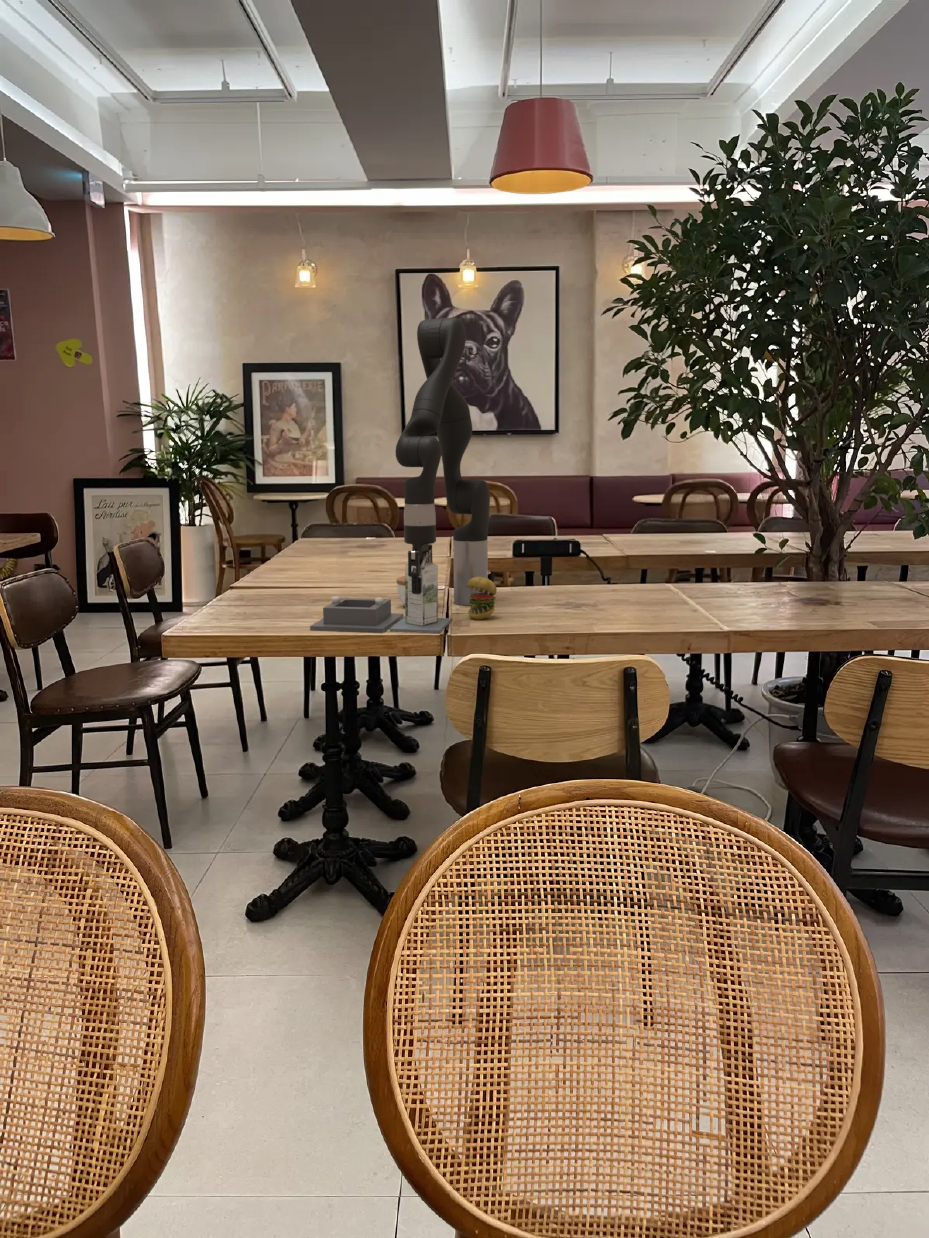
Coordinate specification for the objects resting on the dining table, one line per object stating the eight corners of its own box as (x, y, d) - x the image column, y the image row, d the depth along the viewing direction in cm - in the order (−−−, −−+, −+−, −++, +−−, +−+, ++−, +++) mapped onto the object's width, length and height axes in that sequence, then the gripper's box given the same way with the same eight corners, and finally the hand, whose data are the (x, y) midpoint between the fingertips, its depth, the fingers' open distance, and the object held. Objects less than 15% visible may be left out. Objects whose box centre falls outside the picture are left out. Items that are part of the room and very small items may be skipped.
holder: (335, 615, 231) (334, 590, 230) (403, 617, 227) (403, 592, 226) (310, 630, 214) (308, 603, 212) (383, 632, 210) (382, 605, 209)
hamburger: (460, 618, 226) (460, 570, 224) (481, 613, 231) (480, 567, 229) (482, 622, 221) (482, 574, 218) (503, 618, 226) (503, 570, 223)
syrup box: (420, 619, 222) (419, 561, 219) (439, 622, 218) (438, 563, 215) (405, 623, 217) (403, 564, 214) (423, 626, 214) (422, 566, 211)
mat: (405, 619, 225) (405, 616, 225) (452, 620, 223) (452, 618, 223) (389, 631, 212) (389, 628, 212) (439, 633, 210) (439, 630, 209)
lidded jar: (389, 608, 239) (388, 573, 237) (410, 602, 248) (409, 568, 246) (424, 612, 234) (423, 576, 232) (444, 605, 243) (444, 570, 241)
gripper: (428, 526, 205) (429, 596, 208) (442, 520, 218) (443, 586, 222) (396, 525, 206) (398, 595, 210) (412, 519, 220) (413, 585, 223)
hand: (421, 590), depth 216 cm, fingers open, 8 cm apart
